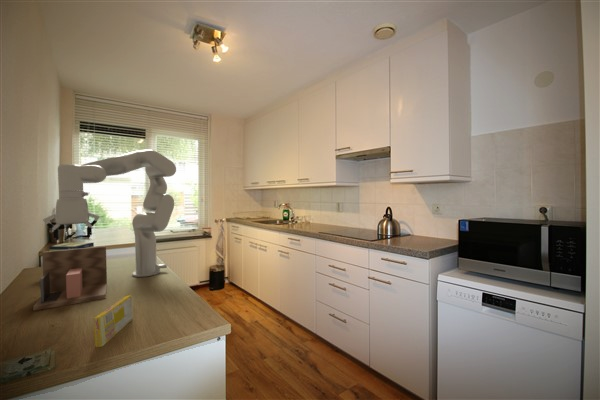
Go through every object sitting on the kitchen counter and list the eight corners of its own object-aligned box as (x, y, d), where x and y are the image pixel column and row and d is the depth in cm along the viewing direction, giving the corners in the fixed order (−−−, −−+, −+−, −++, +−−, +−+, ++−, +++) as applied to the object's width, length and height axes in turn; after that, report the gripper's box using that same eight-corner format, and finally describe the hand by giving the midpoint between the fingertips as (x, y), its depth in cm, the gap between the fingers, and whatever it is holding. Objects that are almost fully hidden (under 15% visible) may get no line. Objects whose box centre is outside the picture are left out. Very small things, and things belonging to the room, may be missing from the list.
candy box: (126, 320, 91) (125, 295, 90) (133, 319, 91) (132, 294, 91) (93, 347, 74) (93, 317, 74) (102, 347, 75) (101, 316, 74)
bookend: (61, 292, 113) (61, 270, 113) (56, 300, 104) (56, 276, 104) (47, 294, 110) (46, 271, 110) (41, 303, 101) (40, 278, 101)
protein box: (79, 276, 139) (78, 245, 139) (49, 276, 140) (48, 246, 139) (95, 270, 150) (94, 242, 150) (66, 271, 150) (66, 242, 150)
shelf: (107, 285, 125) (105, 246, 125) (105, 298, 110) (104, 253, 110) (44, 295, 113) (43, 251, 113) (33, 310, 98) (31, 260, 98)
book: (82, 289, 116) (81, 267, 116) (80, 296, 108) (79, 273, 108) (70, 291, 114) (69, 269, 114) (66, 298, 106) (66, 275, 105)
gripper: (98, 194, 118) (100, 234, 119) (44, 196, 108) (46, 239, 109) (97, 195, 112) (99, 237, 112) (39, 196, 102) (42, 242, 103)
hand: (73, 238), depth 111 cm, fingers open, 9 cm apart
